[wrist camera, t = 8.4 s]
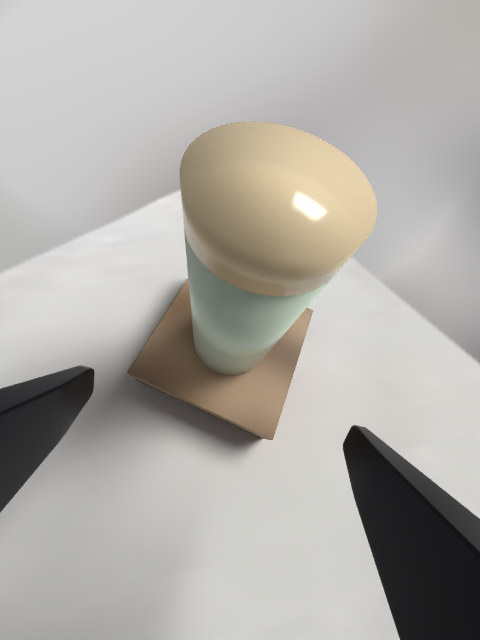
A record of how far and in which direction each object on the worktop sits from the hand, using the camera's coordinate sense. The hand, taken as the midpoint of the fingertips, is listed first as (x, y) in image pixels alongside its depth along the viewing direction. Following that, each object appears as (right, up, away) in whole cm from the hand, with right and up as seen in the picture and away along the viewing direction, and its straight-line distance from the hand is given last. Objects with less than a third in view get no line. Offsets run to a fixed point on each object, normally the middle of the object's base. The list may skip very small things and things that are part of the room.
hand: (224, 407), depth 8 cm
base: (0, +1, +11) cm, 11 cm away
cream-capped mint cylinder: (0, +2, +9) cm, 9 cm away
